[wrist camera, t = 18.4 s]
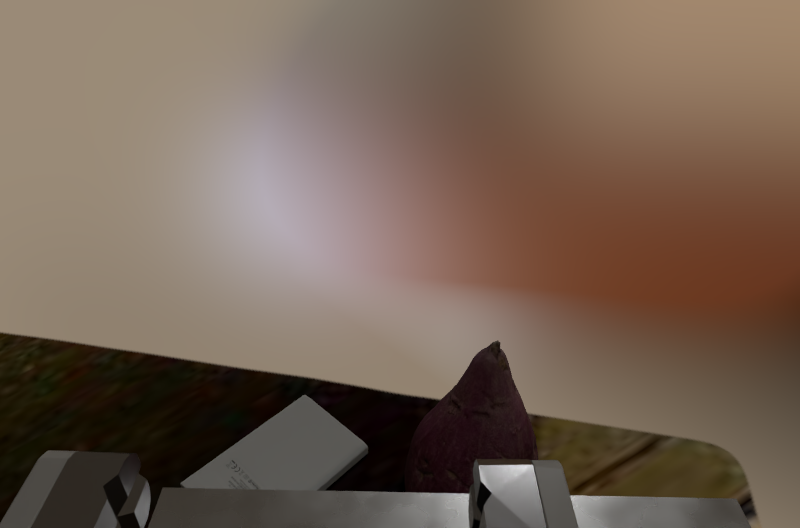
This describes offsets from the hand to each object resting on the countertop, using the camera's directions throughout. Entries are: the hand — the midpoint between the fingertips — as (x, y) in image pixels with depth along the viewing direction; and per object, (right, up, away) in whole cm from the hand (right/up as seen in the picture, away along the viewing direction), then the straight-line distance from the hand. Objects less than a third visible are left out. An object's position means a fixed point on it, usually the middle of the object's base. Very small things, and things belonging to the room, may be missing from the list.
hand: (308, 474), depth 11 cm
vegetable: (+7, -14, +36) cm, 39 cm away
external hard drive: (-8, -13, +37) cm, 40 cm away
